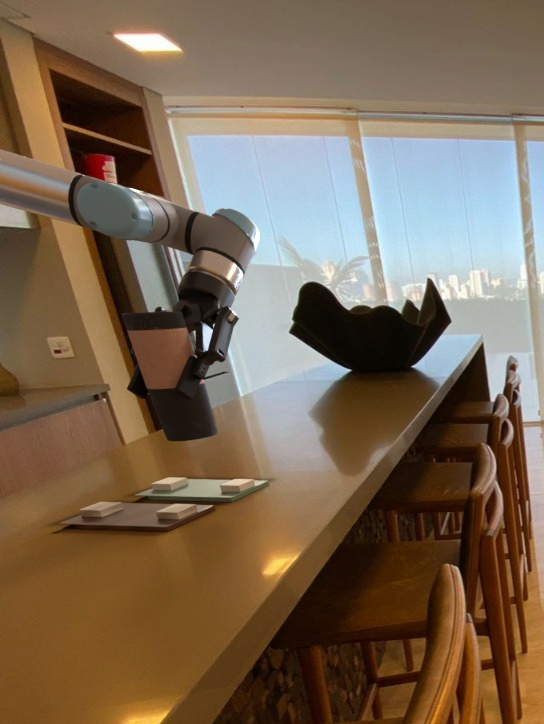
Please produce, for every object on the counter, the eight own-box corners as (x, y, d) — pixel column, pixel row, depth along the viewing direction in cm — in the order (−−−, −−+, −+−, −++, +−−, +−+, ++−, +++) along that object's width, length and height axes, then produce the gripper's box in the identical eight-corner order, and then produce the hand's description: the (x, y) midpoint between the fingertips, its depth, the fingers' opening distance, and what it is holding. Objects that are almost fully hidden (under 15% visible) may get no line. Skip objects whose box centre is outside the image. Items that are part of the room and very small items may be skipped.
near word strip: (59, 528, 85) (53, 516, 85) (115, 506, 94) (111, 495, 93) (168, 531, 84) (163, 519, 83) (215, 509, 92) (212, 498, 91)
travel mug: (156, 443, 92) (109, 314, 85) (177, 433, 99) (136, 312, 91) (209, 439, 94) (169, 312, 86) (226, 429, 101) (190, 310, 93)
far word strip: (135, 499, 97) (131, 488, 96) (179, 482, 105) (176, 472, 104) (232, 502, 95) (228, 490, 95) (269, 484, 104) (266, 474, 103)
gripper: (278, 300, 102) (236, 407, 93) (174, 301, 104) (123, 406, 95) (249, 268, 95) (200, 380, 86) (138, 269, 97) (79, 379, 88)
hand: (159, 394), depth 90 cm, fingers closed on travel mug, 8 cm apart
